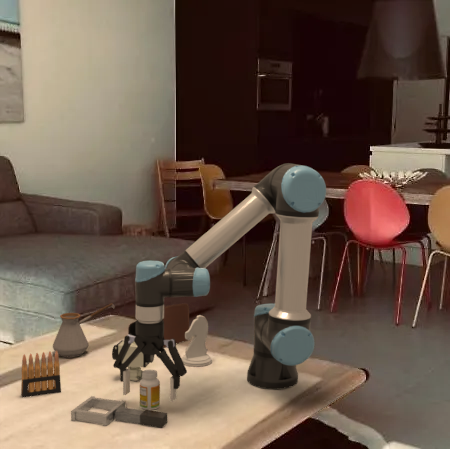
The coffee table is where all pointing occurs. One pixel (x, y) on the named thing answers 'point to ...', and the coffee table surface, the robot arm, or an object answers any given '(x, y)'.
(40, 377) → the ammunition clip
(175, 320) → the letter holder
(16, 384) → the coffee table surface
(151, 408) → the supplement bottle
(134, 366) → the pneumatic valve
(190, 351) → the chess piece
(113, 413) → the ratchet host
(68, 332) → the coffee pot
